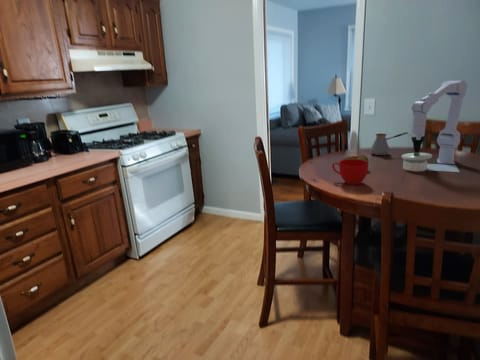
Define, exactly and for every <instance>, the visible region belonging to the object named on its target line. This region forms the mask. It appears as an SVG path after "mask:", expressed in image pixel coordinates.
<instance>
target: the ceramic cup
mask: <svg viewBox="0 0 480 360" xmlns="http://www.w3.org/2000/svg"><path fill="white" fill-rule="evenodd" d="M335 165H337V166H338V167H339V171H338V170H337V169H336V167H335ZM331 168H332V170H333V172H335V173H337V174H338V175H340V177H341V179H342V180H343V181H344V183H345V184H347V185H350V186H357V185H360V184H361V183H362V182H363V181H365V179H366V177H367V175H368V174H367V173H368V171H369V161H368V162H367V161H364V160H357V159H348V160H343V159H341V160H340V161H339V162H333V163H332V167H331Z"/></svg>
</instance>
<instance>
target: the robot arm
mask: <svg viewBox="0 0 480 360" xmlns="http://www.w3.org/2000/svg"><path fill="white" fill-rule="evenodd" d="M467 88H468V83H467V82H466V80H464V79H462V80H449V79H447V80H444V82H442V83H441V86H440V87H439V88H438V89H437V90H435V91H434V92H428V93H427V95H426V96H424V97H422V98H421V99H420V100H416V101H415V102H413V103H412V106H411V111H412V116H413V120H412V128H411V129H412V131H411V133H408V134H409V135H408V136H411V140H412V141H411V142H412V144H413V153H414V152H419V150H421V146H422V145H423V142H424V141H425V139H424V138H425V137H424V136H425V132H426V124H427V122H426V121H427V115H428V113H429V112H430V111H431V108H432V107H433V106H434V105H435V104H437V103H438V101H439V99H440V98H441V97H442V96H444V95H447V97H450V104H449V109H448V113H447V119H446V121H445V122H446V123H445V127H444V128H443V129H442V130H440V131H439V134H438V136H437V139H436V142H437V144H438V146H439V154H438V158H436V162H437V164H443V165H456V163H455V161H454V159H455V151H456V148H457V147H458V146H459V145H460V143H461V133H460V132H459V130H457V128H458V123H459V119H460V114H461V110H462V105H463V103H464V102H463V100H464V98H465V97H466V94H467Z"/></svg>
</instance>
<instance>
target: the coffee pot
mask: <svg viewBox="0 0 480 360" xmlns="http://www.w3.org/2000/svg"><path fill="white" fill-rule="evenodd" d="M387 135H388V134H387V133H375V136H376V138H375V140H374V142H373V144H372V145H371V147H370V153H371V154H375V155H374V156H377V155H384V156H387V154H389V153H390V151H391V149H390V146H389V144H388V140H391V139H394V138H398V137H402V136H405V135H407V136H410V135H409V133H408V131H407V132H402V133H398V134H395V135H394V136H391V137H387ZM386 137H387V138H386Z"/></svg>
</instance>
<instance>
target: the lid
mask: <svg viewBox="0 0 480 360" xmlns="http://www.w3.org/2000/svg"><path fill="white" fill-rule="evenodd" d="M420 150H421V149H420ZM420 150H419V152H414V151H413V152H410V153H404V154H402V155H401V159H403V160H404V159H407V160H429V159H431V158H432V157H433V154H431V153H428V152H420Z"/></svg>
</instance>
